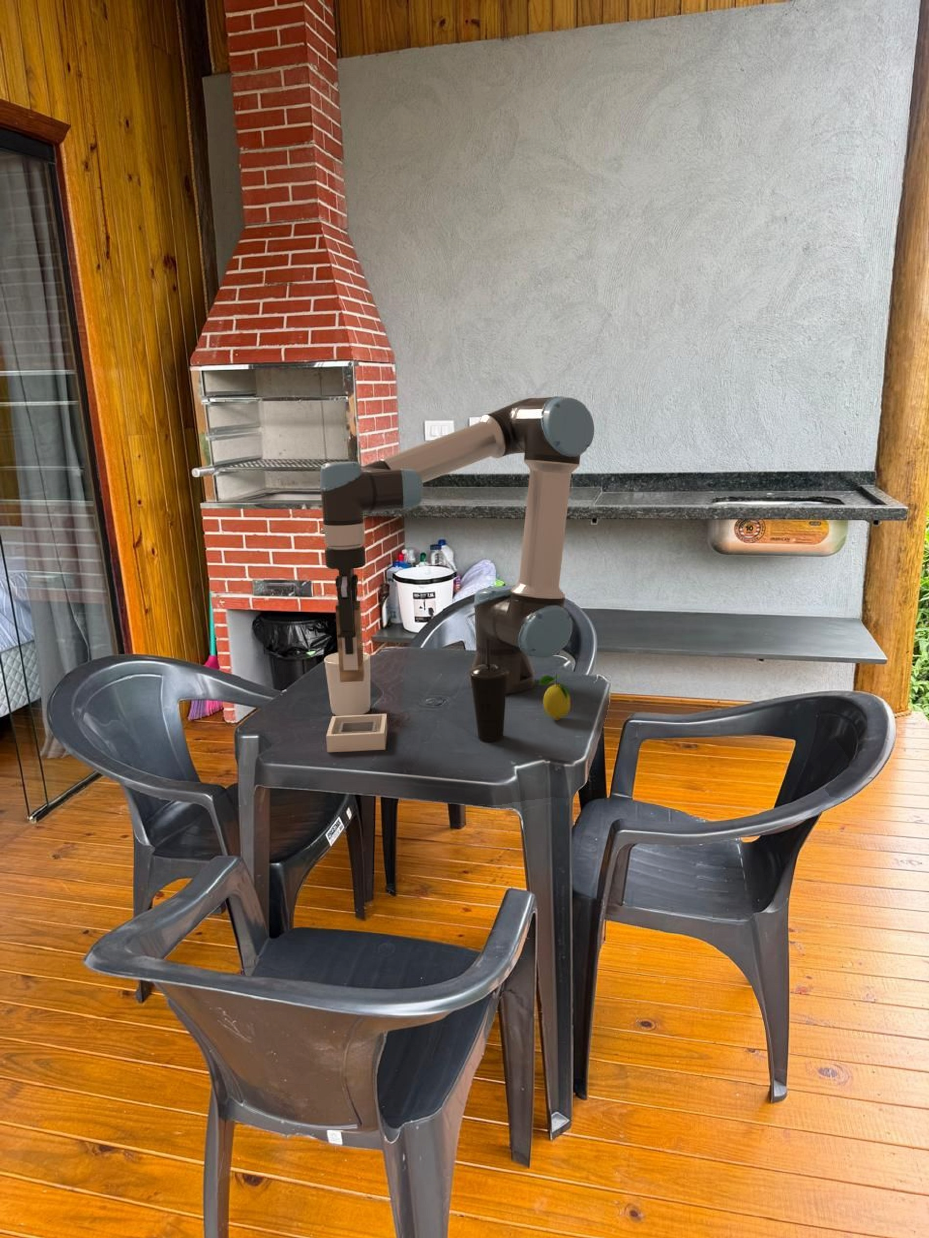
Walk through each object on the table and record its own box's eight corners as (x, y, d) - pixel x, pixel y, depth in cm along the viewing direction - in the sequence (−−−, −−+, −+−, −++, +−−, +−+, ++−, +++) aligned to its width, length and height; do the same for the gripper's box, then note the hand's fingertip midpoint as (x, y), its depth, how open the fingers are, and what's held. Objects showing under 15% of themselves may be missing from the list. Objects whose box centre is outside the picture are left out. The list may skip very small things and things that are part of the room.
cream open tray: (387, 728, 180) (386, 713, 179) (385, 749, 169) (384, 733, 168) (333, 731, 179) (332, 716, 179) (327, 752, 169) (326, 736, 168)
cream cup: (365, 719, 186) (362, 664, 183) (321, 717, 188) (317, 663, 185) (379, 703, 195) (376, 651, 192) (337, 702, 197) (333, 650, 194)
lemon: (539, 715, 184) (538, 669, 182) (566, 713, 185) (566, 667, 182) (544, 726, 178) (543, 679, 175) (573, 724, 178) (573, 677, 176)
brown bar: (364, 675, 173) (360, 600, 169) (363, 681, 169) (358, 604, 166) (341, 676, 173) (337, 601, 169) (340, 682, 169) (335, 605, 166)
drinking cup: (471, 730, 177) (468, 634, 172) (509, 730, 177) (507, 633, 172) (470, 745, 170) (466, 644, 165) (510, 744, 169) (507, 643, 164)
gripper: (329, 540, 173) (336, 655, 178) (319, 553, 157) (327, 679, 162) (367, 539, 173) (373, 654, 179) (361, 552, 157) (368, 678, 163)
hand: (351, 666), depth 170 cm, fingers closed on brown bar, 3 cm apart
